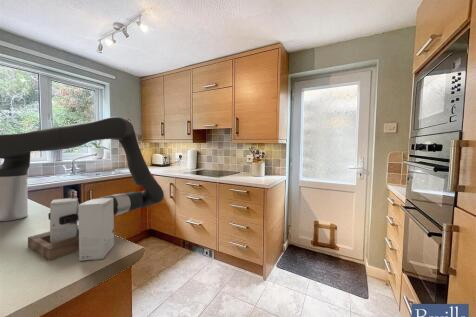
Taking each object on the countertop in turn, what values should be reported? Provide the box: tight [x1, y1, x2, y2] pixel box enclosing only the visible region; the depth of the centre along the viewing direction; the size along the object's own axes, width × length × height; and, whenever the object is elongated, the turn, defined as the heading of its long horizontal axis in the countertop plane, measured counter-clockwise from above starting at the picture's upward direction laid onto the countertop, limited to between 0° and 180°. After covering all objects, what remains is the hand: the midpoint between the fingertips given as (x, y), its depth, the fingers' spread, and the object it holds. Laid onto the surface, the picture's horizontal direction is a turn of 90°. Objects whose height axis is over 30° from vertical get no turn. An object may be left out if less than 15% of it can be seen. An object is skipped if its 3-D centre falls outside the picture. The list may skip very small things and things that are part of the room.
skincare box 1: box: [49, 197, 79, 244], centre depth 61 cm, size 6×4×12 cm
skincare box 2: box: [78, 197, 115, 262], centre depth 57 cm, size 8×6×15 cm
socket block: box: [27, 224, 79, 261], centre depth 62 cm, size 14×12×3 cm
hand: (54, 218), depth 59 cm, fingers closed on skincare box 1, 6 cm apart
